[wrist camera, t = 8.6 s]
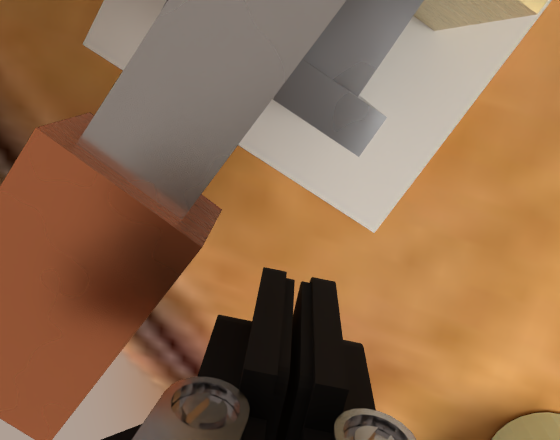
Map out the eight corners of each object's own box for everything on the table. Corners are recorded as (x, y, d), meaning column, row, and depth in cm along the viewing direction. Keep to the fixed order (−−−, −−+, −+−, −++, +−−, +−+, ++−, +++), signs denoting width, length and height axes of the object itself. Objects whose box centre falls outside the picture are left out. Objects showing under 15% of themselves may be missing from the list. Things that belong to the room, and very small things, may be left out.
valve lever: (569, -692, 6) (687, -1026, 4) (762, -454, 7) (943, -654, 5) (-44, 294, 11) (-119, 346, 9) (101, 387, 11) (60, 455, 9)
